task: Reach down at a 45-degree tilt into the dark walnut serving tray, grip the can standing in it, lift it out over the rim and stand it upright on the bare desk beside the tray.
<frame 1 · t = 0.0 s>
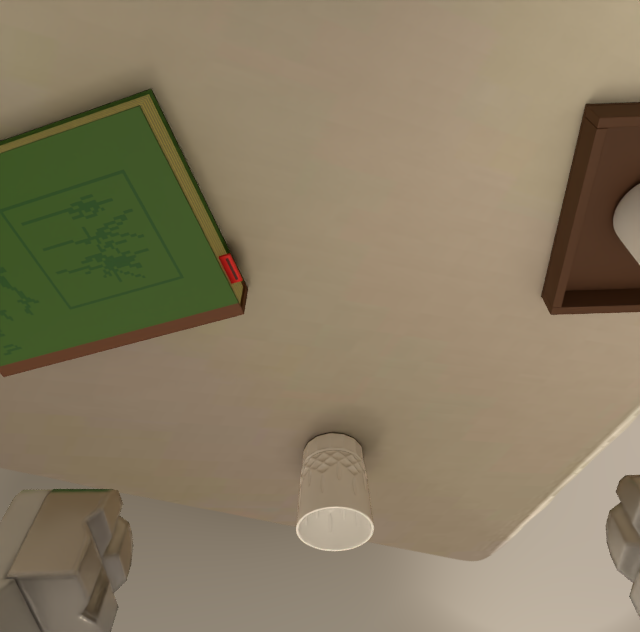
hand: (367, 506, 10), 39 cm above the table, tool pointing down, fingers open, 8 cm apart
white cup: (333, 450, 69), on the table
hardcover book: (80, 237, 52), on the table
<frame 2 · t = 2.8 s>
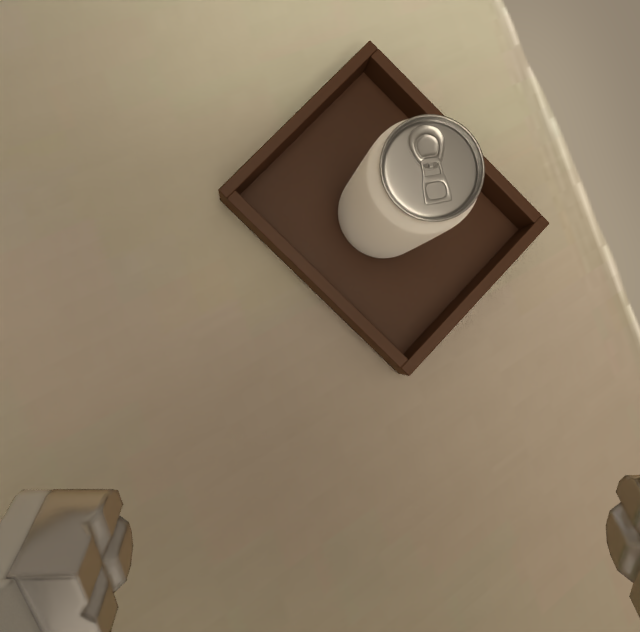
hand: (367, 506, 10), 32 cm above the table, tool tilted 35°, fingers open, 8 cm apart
can: (380, 215, 43), resting on tray
tray: (380, 215, 43), on the table
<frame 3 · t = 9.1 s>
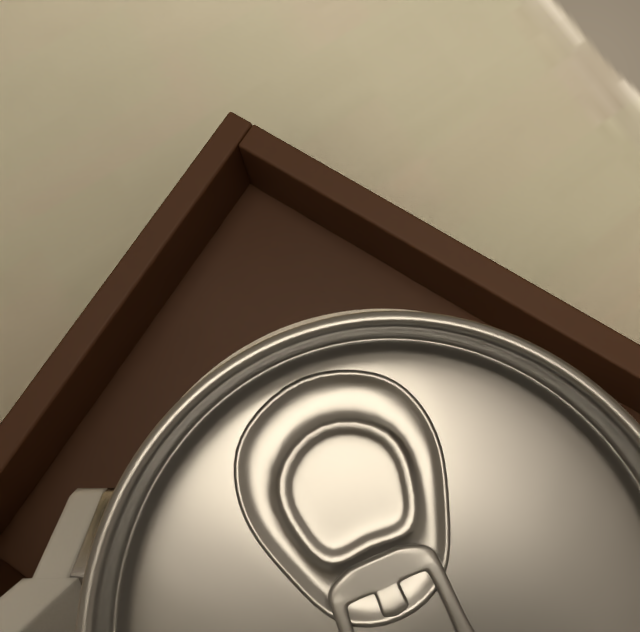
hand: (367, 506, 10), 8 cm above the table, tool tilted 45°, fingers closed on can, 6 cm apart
can: (357, 506, 17), resting on tray, touching gripper
tray: (356, 506, 17), on the table
when the fingers open (7 cm above the table, at t = 19.2 s): can stays where it is, on the table.
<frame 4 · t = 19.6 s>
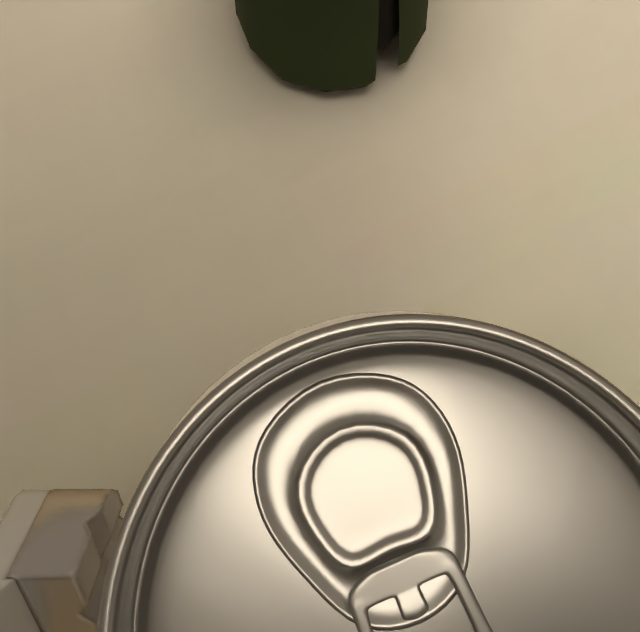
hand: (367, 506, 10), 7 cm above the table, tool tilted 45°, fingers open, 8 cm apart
can: (364, 507, 17), on the table
character mug: (333, 22, 21), on the table
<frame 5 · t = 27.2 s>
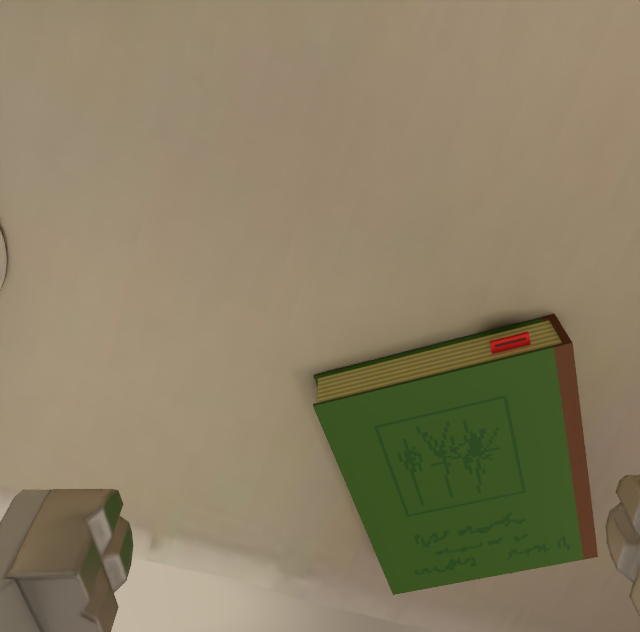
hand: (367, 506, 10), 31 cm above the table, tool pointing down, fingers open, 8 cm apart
hardcover book: (458, 450, 52), on the table
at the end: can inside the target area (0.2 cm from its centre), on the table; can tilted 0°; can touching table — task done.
